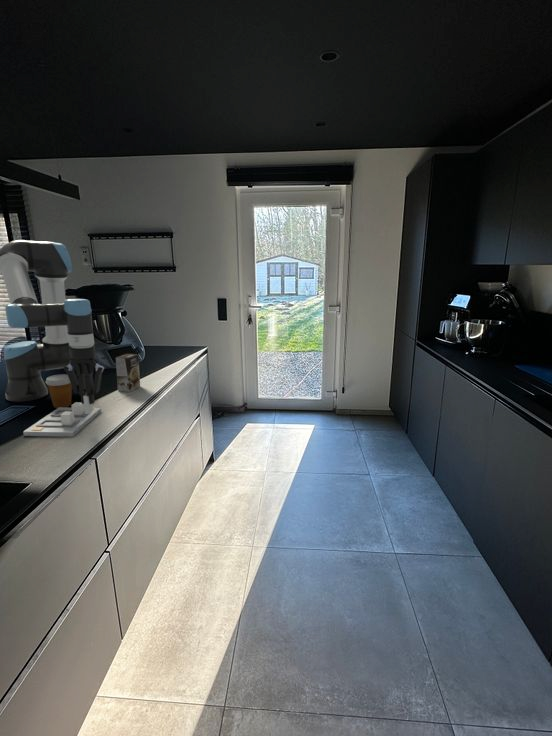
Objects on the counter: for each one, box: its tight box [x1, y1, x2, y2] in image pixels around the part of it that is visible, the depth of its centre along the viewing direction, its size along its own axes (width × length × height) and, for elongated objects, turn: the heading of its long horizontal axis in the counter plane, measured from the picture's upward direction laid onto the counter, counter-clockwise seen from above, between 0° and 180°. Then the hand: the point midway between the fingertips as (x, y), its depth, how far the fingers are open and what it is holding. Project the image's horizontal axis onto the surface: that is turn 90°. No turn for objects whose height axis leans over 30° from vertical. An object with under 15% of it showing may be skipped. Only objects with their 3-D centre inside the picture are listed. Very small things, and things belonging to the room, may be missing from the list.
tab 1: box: [61, 411, 75, 425], centre depth 125 cm, size 3×3×4 cm
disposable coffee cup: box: [45, 373, 73, 409], centre depth 144 cm, size 10×10×12 cm
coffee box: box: [115, 353, 141, 393], centre depth 167 cm, size 9×6×16 cm
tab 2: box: [71, 401, 85, 415], centre depth 134 cm, size 3×3×4 cm
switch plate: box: [22, 406, 102, 438], centre depth 130 cm, size 16×22×2 cm
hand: (89, 412), depth 124 cm, fingers closed
